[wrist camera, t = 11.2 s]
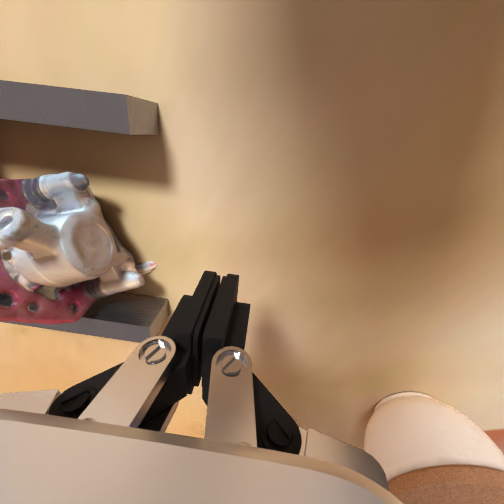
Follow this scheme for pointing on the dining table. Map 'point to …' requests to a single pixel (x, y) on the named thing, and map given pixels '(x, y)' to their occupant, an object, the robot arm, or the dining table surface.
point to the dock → (101, 119)
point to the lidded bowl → (433, 452)
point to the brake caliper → (59, 250)
